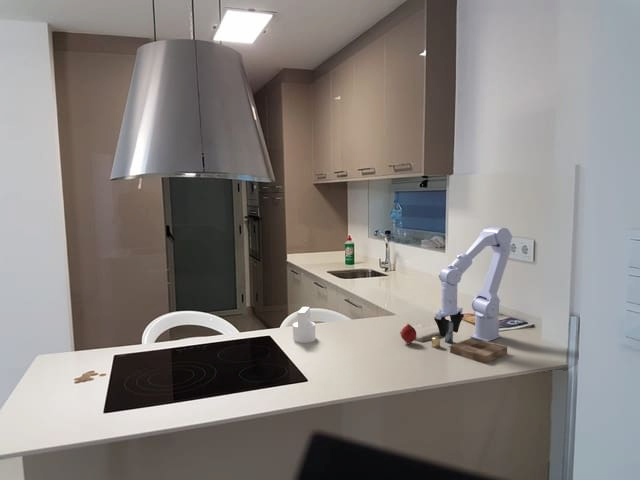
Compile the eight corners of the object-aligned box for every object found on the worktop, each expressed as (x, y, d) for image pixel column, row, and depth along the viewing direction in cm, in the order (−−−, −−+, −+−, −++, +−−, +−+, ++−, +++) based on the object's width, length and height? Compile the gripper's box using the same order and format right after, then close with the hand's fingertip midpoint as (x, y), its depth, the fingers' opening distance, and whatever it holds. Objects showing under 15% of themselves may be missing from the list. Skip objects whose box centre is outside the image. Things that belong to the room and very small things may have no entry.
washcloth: (452, 334, 182) (452, 327, 182) (420, 343, 173) (420, 336, 172) (430, 327, 192) (430, 320, 192) (399, 335, 183) (399, 328, 182)
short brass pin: (435, 344, 170) (435, 335, 169) (441, 346, 167) (441, 337, 167) (430, 346, 168) (430, 337, 168) (436, 348, 166) (436, 339, 165)
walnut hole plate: (472, 343, 170) (472, 337, 170) (507, 353, 159) (507, 347, 159) (450, 352, 162) (450, 345, 161) (485, 363, 151) (485, 356, 150)
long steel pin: (447, 340, 175) (448, 320, 174) (454, 342, 172) (454, 322, 172) (443, 341, 173) (443, 321, 172) (449, 343, 171) (450, 323, 170)
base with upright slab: (312, 343, 174) (312, 313, 173) (290, 342, 176) (289, 312, 174) (317, 335, 183) (317, 307, 181) (296, 334, 185) (295, 306, 183)
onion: (416, 341, 174) (416, 321, 173) (415, 346, 168) (415, 326, 167) (401, 340, 175) (401, 320, 174) (400, 345, 170) (400, 325, 169)
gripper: (451, 294, 178) (451, 327, 180) (429, 300, 169) (428, 335, 171) (467, 297, 173) (466, 331, 174) (444, 304, 164) (444, 339, 165)
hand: (448, 333), depth 172 cm, fingers open, 7 cm apart
